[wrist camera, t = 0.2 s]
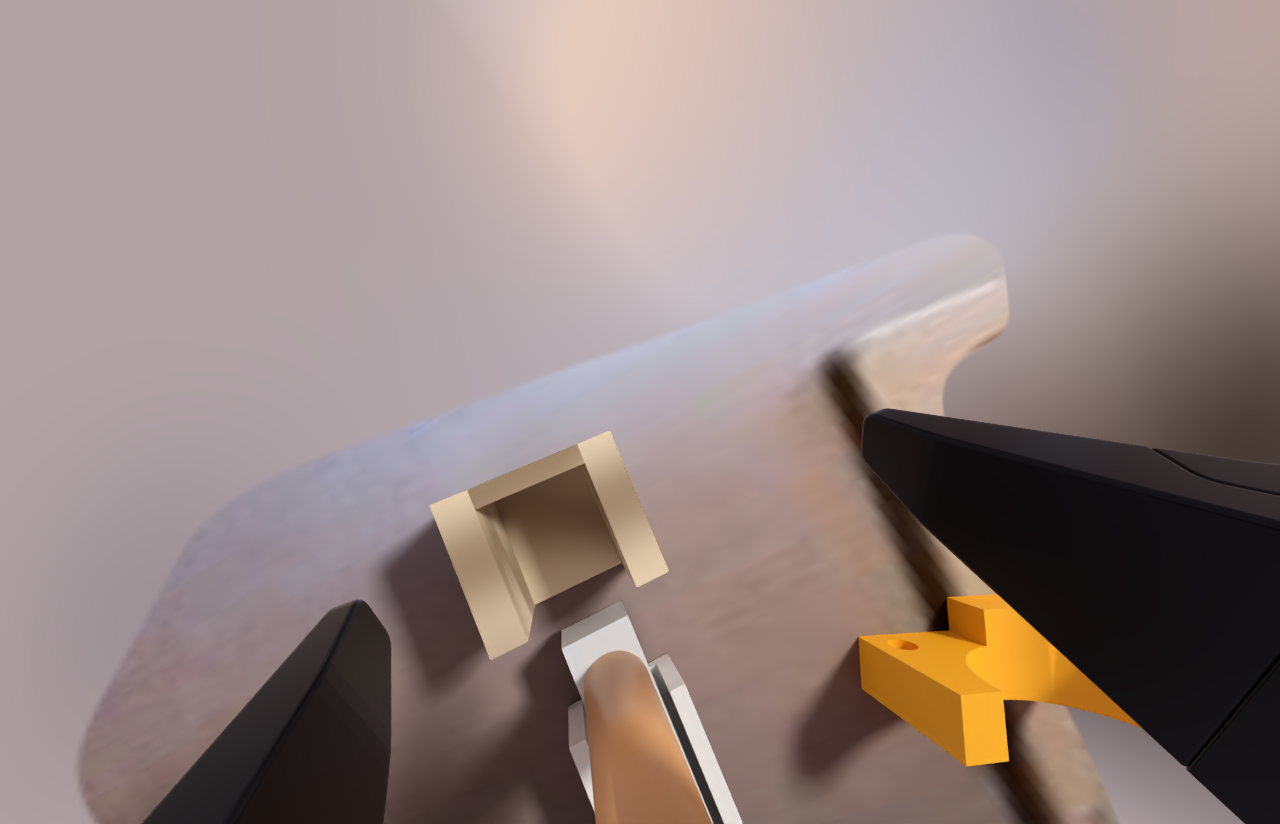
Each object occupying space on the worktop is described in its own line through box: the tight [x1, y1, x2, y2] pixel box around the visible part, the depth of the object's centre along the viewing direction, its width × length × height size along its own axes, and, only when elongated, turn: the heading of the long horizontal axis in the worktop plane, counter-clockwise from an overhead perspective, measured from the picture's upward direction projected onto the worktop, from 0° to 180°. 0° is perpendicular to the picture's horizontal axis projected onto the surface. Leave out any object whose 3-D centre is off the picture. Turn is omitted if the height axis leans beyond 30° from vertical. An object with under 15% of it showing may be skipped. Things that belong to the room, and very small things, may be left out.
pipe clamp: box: [859, 594, 1143, 766], centre depth 22 cm, size 12×4×6 cm, turn 90°
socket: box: [430, 431, 669, 660], centre depth 20 cm, size 6×7×5 cm
